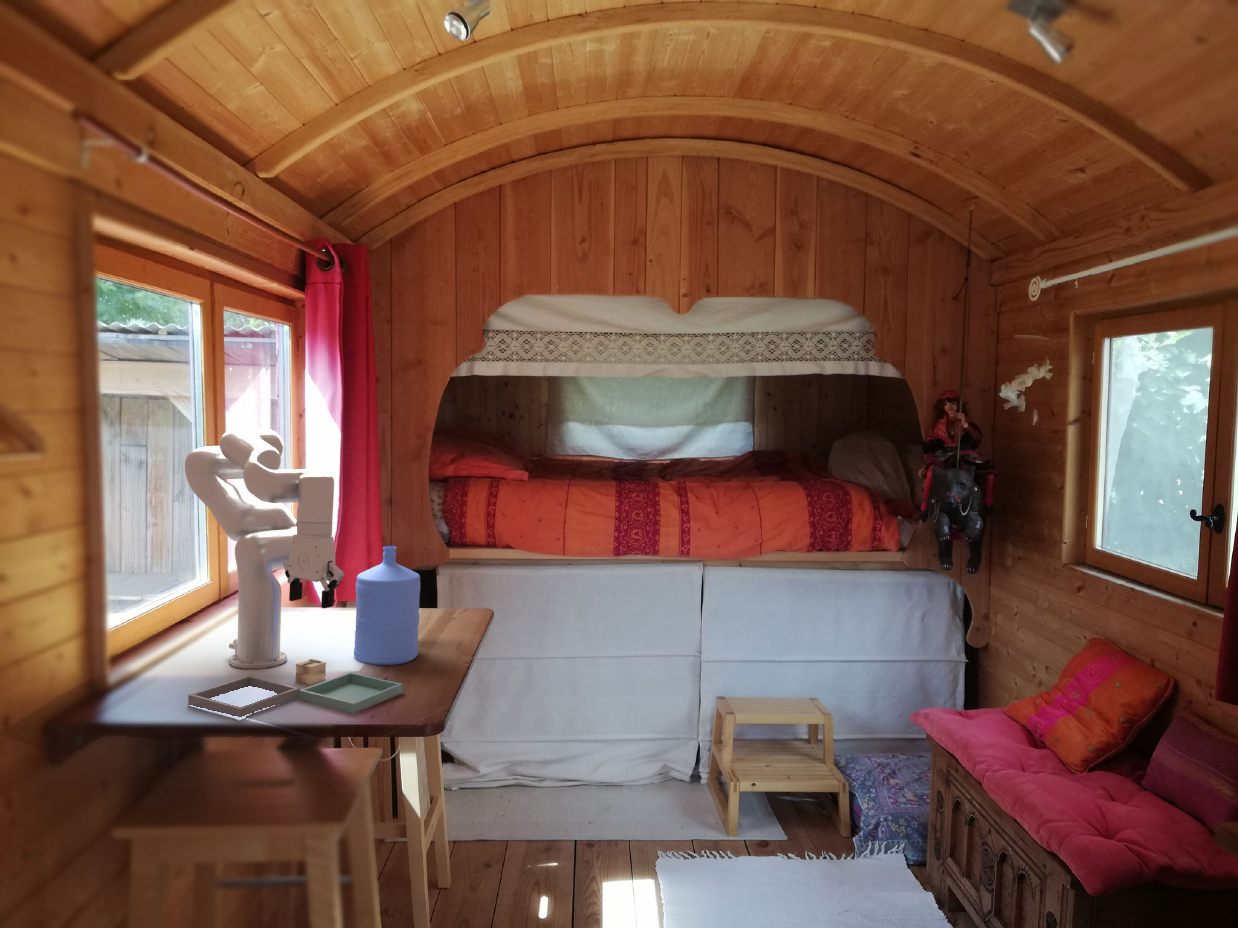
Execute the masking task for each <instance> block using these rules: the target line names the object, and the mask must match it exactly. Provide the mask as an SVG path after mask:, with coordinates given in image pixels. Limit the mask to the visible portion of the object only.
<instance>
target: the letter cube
mask: <svg viewBox="0 0 1238 928" xmlns="http://www.w3.org/2000/svg"><path fill="white" fill-rule="evenodd" d="M326 668H327V662H326V661H323V660H318V659H315V658H309V659H306V660H303V661H300V662H296V663H295V682H298V683H302V684H306V685H309V686H312V685H315V684H318V683H321V682H323V681H326V676H327V675H326V674H327V673H326Z"/></svg>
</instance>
